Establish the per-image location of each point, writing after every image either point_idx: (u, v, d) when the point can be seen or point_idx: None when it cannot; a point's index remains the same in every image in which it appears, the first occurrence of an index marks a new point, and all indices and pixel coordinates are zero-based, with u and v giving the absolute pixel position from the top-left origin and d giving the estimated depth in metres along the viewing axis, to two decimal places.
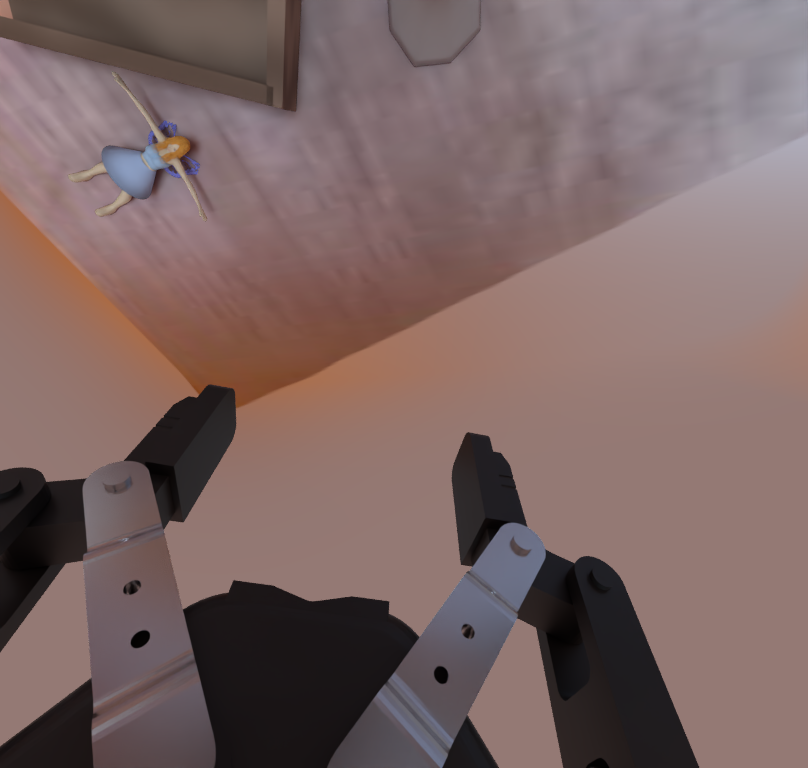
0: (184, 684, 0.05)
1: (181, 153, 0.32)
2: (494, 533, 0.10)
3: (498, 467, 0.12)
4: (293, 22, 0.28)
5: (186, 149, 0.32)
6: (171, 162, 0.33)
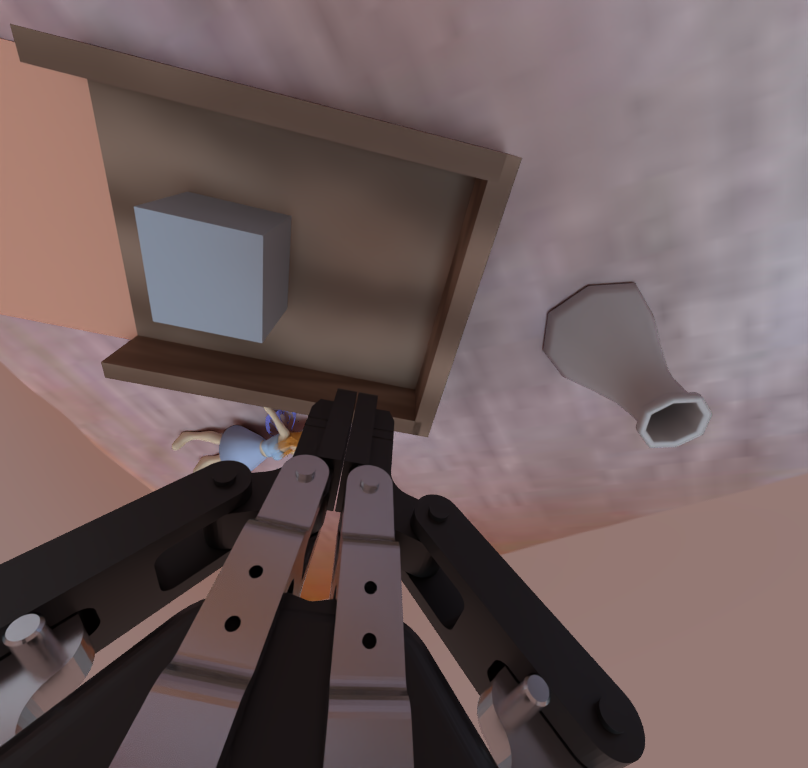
0: (184, 684, 0.05)
1: None
2: None
3: (381, 422, 0.13)
4: None
5: None
6: (290, 451, 0.31)
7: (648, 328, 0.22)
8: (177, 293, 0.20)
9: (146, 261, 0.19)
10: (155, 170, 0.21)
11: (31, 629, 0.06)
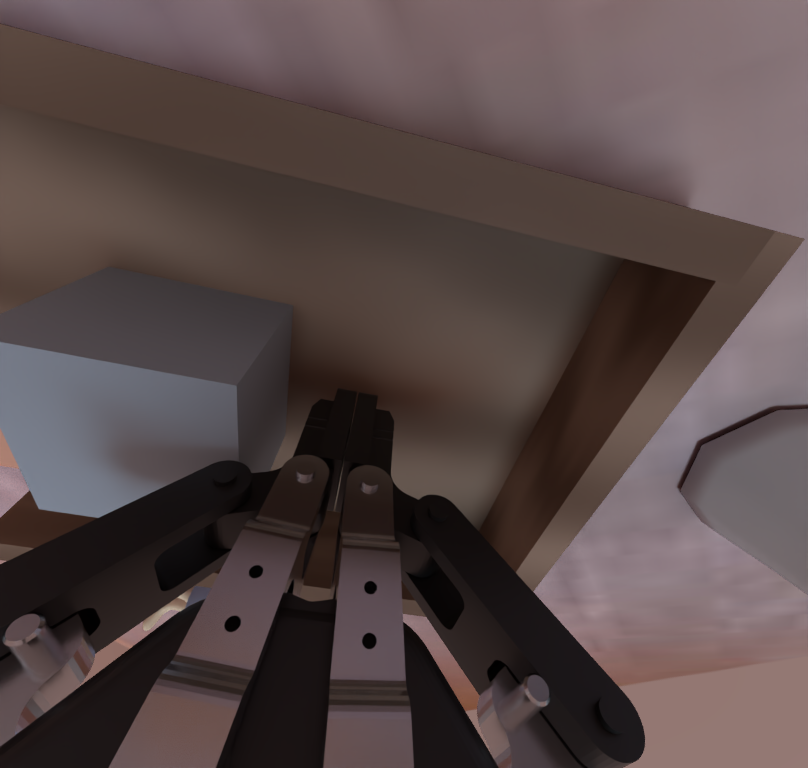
0: (184, 684, 0.05)
1: None
2: None
3: (381, 422, 0.13)
4: None
5: None
6: None
7: None
8: (76, 471, 0.11)
9: (5, 424, 0.10)
10: (51, 233, 0.12)
11: (31, 629, 0.06)
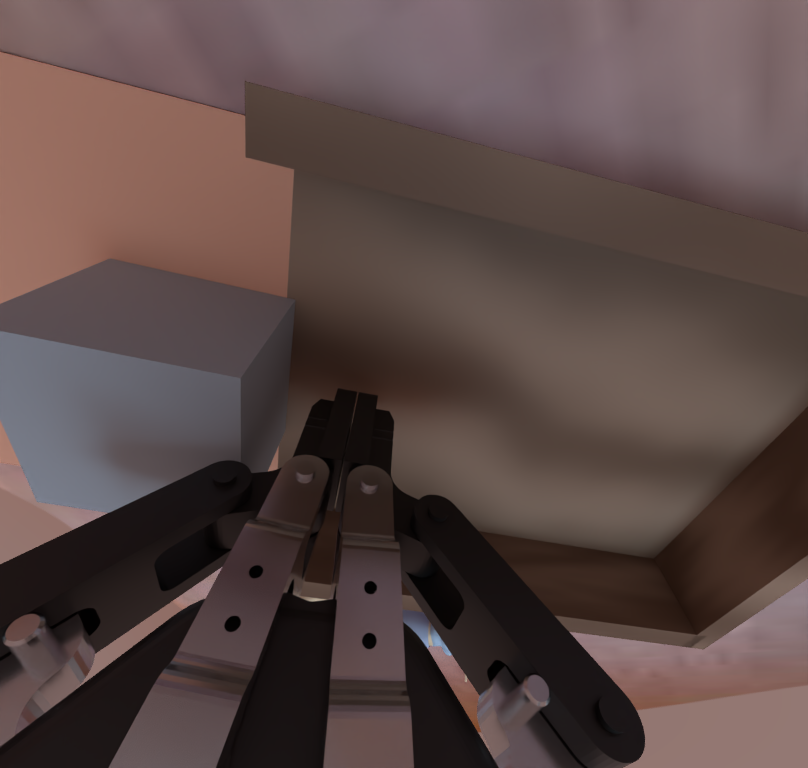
0: (184, 684, 0.05)
1: None
2: None
3: (382, 422, 0.13)
4: None
5: None
6: None
7: None
8: (75, 463, 0.11)
9: (5, 414, 0.10)
10: (371, 298, 0.13)
11: (31, 629, 0.06)
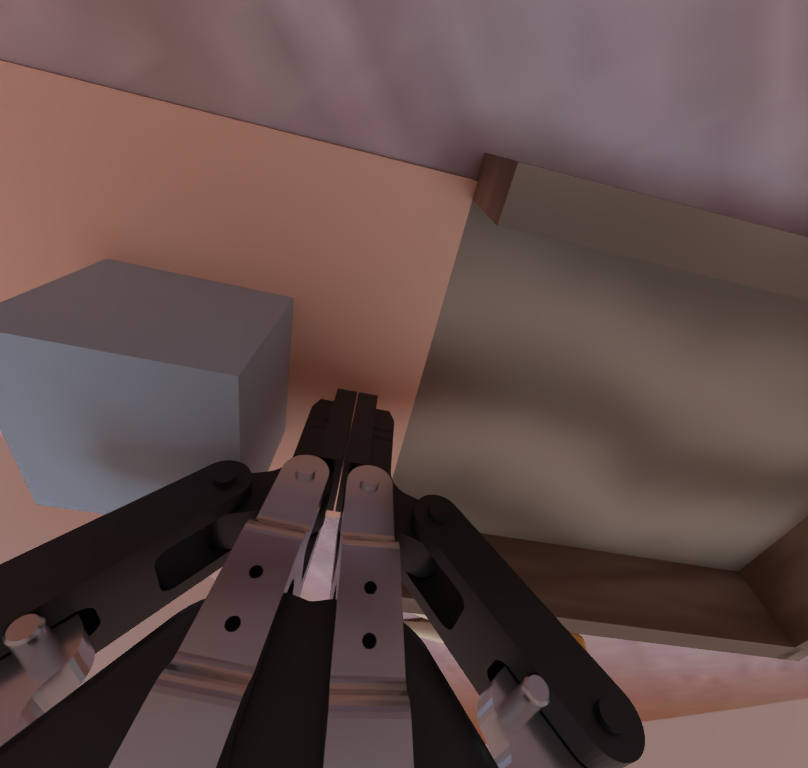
0: (184, 684, 0.05)
1: None
2: None
3: (382, 422, 0.13)
4: None
5: None
6: None
7: None
8: (74, 465, 0.10)
9: (2, 416, 0.10)
10: (514, 333, 0.14)
11: (31, 629, 0.06)
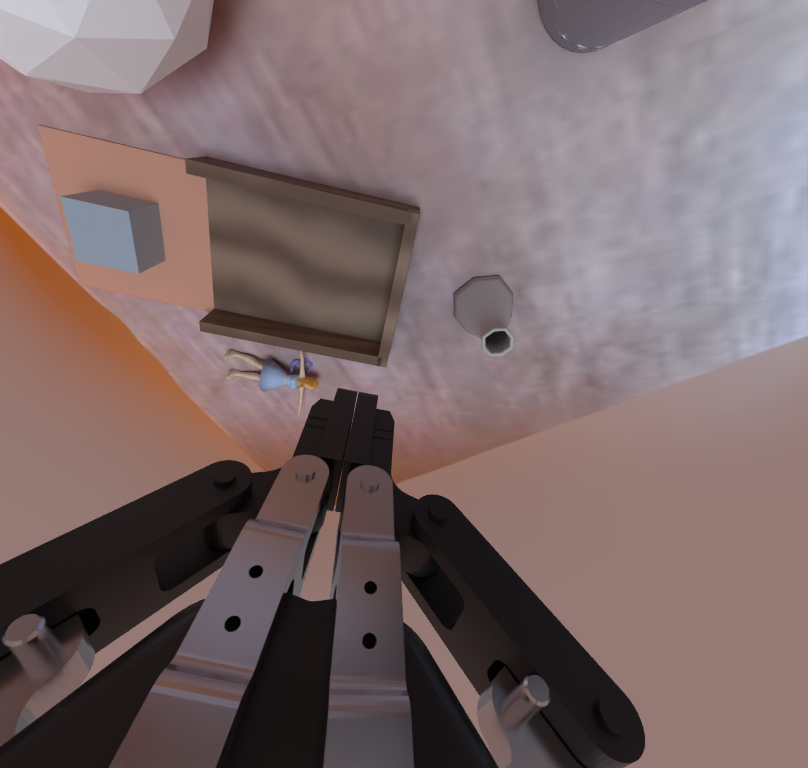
0: (184, 684, 0.05)
1: (310, 389, 0.49)
2: None
3: (381, 422, 0.13)
4: None
5: (314, 388, 0.50)
6: None
7: (498, 299, 0.41)
8: (88, 243, 0.37)
9: (69, 225, 0.36)
10: (235, 216, 0.40)
11: (31, 629, 0.06)
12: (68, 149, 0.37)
